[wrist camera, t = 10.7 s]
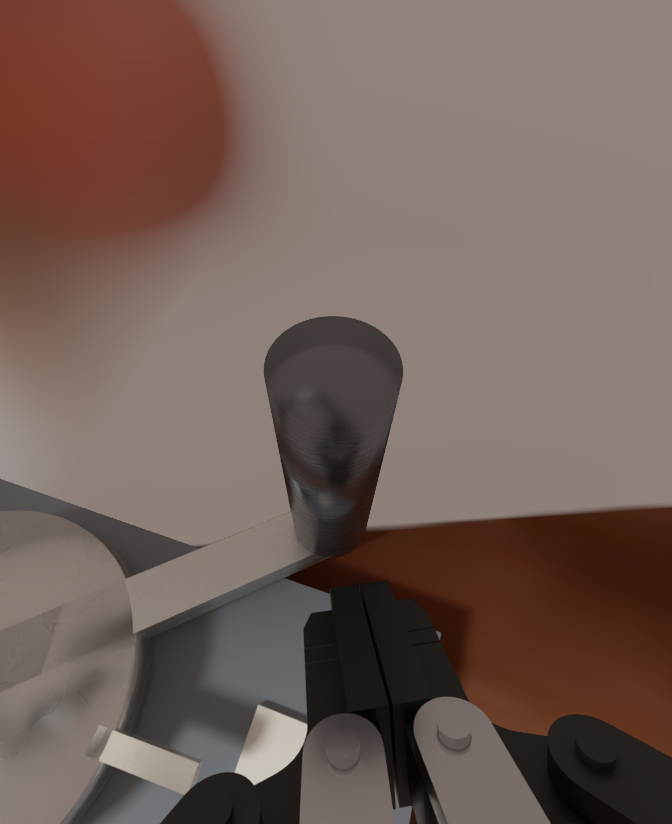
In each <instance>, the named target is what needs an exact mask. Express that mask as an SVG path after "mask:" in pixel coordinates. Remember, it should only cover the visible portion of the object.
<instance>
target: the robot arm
mask: <svg viewBox="0 0 672 824" xmlns="http://www.w3.org/2000/svg"><path fill="white" fill-rule="evenodd" d="M330 601H331V610H328V611H321V612H314V613H311V614H310V616H309V618H308V620H307V622H306V624H305V627H304V629H303V634H304V657H305V680H306V703H307V733H306V738H305V741H304V743H303V745H302V747H301V749H300V751H299V753H298V754H297V755H296V757H295V758H294V759H293V760H292V761H291V762H290V763H289V764H288V765H287V766H286V767H285V768H283V769H282V770H281V771H279V772H277V773H276V774H274V775H272V776H270V777H268V778H267V779H265V780H263V781H261V782H259V783H257V784H255V785H253V783H252V782H251V781H250V780H249V779H248V778H247V777H245V776H243V775H241V774H238V773H234V772H223V773H218V774H214V775H211V776H209V777H207V778H205V779H203V780H202V781H200V782H198V783H197V784H196V785H194V786H193V787H192V788H191V789H190V790H189V791H188V792H187V793H186V794H185V795H184V796H183V797H182V798H181V799H180V801H179V802H178V803H177V804H176V805H175V806H174V808H173V809H172V810H171V811H170V812H169V813H168V815H167V816H166V817H165V818H164V819H163V820H162V822H161V823H160V824H395V820H394V813H393V809H396V802H395V791H396V795H397V800H398V804H399V808H402V807H408V806H413V809H414V813H415V817H416V821H417V824H672V758H671V757H670V756H668V755H666V754H664V753H662V752H660V751H658V750H657V749H655V748H653V747H651V746H649V745H647V744H645V743H644V742H642V741H640V740H638V739H636V738H634V737H632V736H631V735H629V734H627V733H625V732H623V731H621V730H619V729H617V728H616V727H614V726H612V725H610V724H608V723H606V722H604V721H602V720H600V719H597V718H594V717H591V716H586V715H578V714H573V715H566V716H563V717H560V718H558V719H557V720H556V721H554V722H553V724H552V725H551V726H550V729H549V731H548V736H542V735H536V734H529V733H522V732H516V731H512V730H508V729H505V728H502V727H500V726H497V725H495V724H493V723H492V722H490V720H489V719H488V717H487V716H486V715H485V714H484V713H483V712H482V711H481V710H480V709H479V708H478V707H476V706H475V705H473V704H472V703H470V702H469V700H468V698H467V696H466V694H465V692H464V690H463V688H462V686H461V684H460V682H459V680H458V677H457V675H456V673H455V671H454V669H453V667H452V665H451V663H450V660H449V658H448V656H447V654H446V652H445V650H444V648H443V646H442V644H441V643H440V639H439V637H438V635H437V633H436V631H435V630H434V627H433V624H432V622H431V620H430V618H429V616H428V614H427V612H426V610H424V609H423V608H422V607H421V606H420V605H419V604H417V603H416V602H415V601H414V600H413V599H405V600H398V601H396V600H395V598H394V595H393V592H392V590H391V587H390V585H389V582H388V581H380V582H372V583H365V584H359V588H358V585H352V586H344V587H337V588H330ZM394 786H395V787H394Z"/></svg>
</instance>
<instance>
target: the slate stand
mask: <svg viewBox="0 0 672 824" xmlns="http://www.w3.org/2000/svg"><path fill="white" fill-rule="evenodd" d="M21 510H23V511H34V512H42V513H47V514H51V515H55V516H59V517H61V518H64V519H66V520H69V521H71V522H74V523H76V524H77V525H79V526H80V527H82V528H84V529H85V530H87V531H89V532H90V533H92V534H93V535H95V536H96V537H98V538H99V539H101V540H102V541H104V542H105V543H107V544H108V545H110V546H111V547H112V548H113V549H114V550H115V551H117V552H118V553H119V554H120V555H121V556H122V557H123V558H124V559H125V561H126V562H127V563H128V564H129V566H130V567H131V568H132V570H133V571H134V573H135V575H137V574H139V573H142V572H144V571H146V570H149V569H151V568H154V567H156V566H159V565H161V564H163V563H166V562H168V561H171V560H173V559H176V558H178V557H181V556H183V555H185V554H188V553H190V552H193V551H195V550H198V549H199V548H196V547H194V546H191V545H188V544H185V543H182V542H179V541H176V540H173V539H171V538H168V537H165V536H162V535H159V534H156V533H153V532H151V531H147V530H145V529H142V528H139V527H136V526H133V525H130V524H127V523H125V522H122V521H119V520H116V519H113V518H110V517H108V516H105V515H102V514H99V513H96V512H93V511H90V510H87V509H85V508H81V507H79V506H76V505H73V504H70V503H67V502H64V501H62V500H59V499H56V498H53V497H50V496H47V495H44V494H42V493H39V492H36V491H33V490H30V489H27V488H24V487H21V486H19V485H16V484H13V483H10V482H7V481H4V480H1V479H0V511H21ZM328 610H331V601H330V594H328V593H326V592H323V591H320V590H317V589H314V588H311V587H308V586H305V585H303V584H300V583H297V582H294V581H291V580H288V579H285V578H283V579H280V580H278V581H276V582H274V583H271V584H269V585H267V586H265V587H262V588H260V589H258V590H256V591H254V592H251V593H249V594H247V595H245V596H242V597H240V598H238V599H236V600H233V601H231V602H229V603H227V604H224V605H222V606H220V607H218V608H215V609H213V610H211V611H209V612H207V613H204V614H202V615H200V616H198V617H195V618H193V619H191V620H189V621H186V622H184V623H182V624H180V625H177V626H175V627H173V628H171V629H169V630H166V631H164V632H162V633H160V634H157V635H155V636H153V637H152V640H153V641H152V663H151V669H150V675H149V681H148V687H147V691H146V695H145V698H144V702H143V706H142V709H141V713H140V716H139V718H138V721H137V723H136V726H135V729H134V731H133V734H136V735H138V736H141V737H144V738H146V739H149V740H151V741H154V742H157V743H159V744H162V745H164V746H167V747H170V748H172V749H175V750H177V751H180V752H183V753H185V754H188V755H190V756H193V757H196V758H198V759H201V760H203V763H202V766H201V769H200V772H199V774H198V777H197V780H196V783H195V785H196V784H197V783H198V782H200V781H202V780H203V779H205V778H207V777H209V776H211V775H214V774H218V773H223V772H234V773H238V774H241V775H243V776H245V777H247V778H248V779H249V780H250V781H251V782H252V783H253V785H255V784H257V783H259V782H261V781H263V780H265V779H267V778H268V777H270V776H272V775H274V774H276V773H277V772H279V771H281V770H282V769H283V768H285V767H286V766H287V765H288V764H289V763H290V762H291V761H292V760H293V759H294V758H295V757H296V755H297V754H298V753H299V751H300V749H301V747H302V745H303V743H304V741H305V738H306V733H307V703H306V680H305V657H304V634H303V629H304V627H305V624H306V622H307V620H308V618H309V616H310V614H311V613H314V612H321V611H328ZM436 633H437V635H438V637H439V639H440V637H441V633H440V632H437V631H436ZM394 787H395V786H394ZM183 796H184V795H183V794H181V793H178V792H176V791H173V790H171V789H168V788H166V787H163V786H161V785H158V784H156V783H153V782H151V781H148V780H146V779H143V778H141V777H138V776H136V775H133V774H131V773H128V772H126V771H123V770H121V769H118V768H116V769H115V770H114V772H113V773H112V775H111V777H110V778H109V780H108V781H107V783H106V785H105V786H104V788H103V790H102V791H101V793H100V794H99V795H98V797H97V798H96V799H95V801H94V802H93V803H92V805H91V806H90V807H89V809H88V810H87V811H86V813H85V814H84V815H83V817H82V818H81V819H80V820H79V821H78V822H77V823H76V824H160V823H161V822H162V820H163V819H164V818H165V817H166V816H167V815H168V813H169V812H170V811H171V810H172V809H173V808H174V806H175V805H176V804H177V803H178V802H179V801H180V799H181V798H182V797H183ZM395 802H396V809H393V813H394V820H395V824H409V822H410V816H411V810H412V806H408V807H402V808H399V804H398V800H397V795H396V791H395Z"/></svg>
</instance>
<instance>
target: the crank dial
mask: <svg viewBox="0 0 672 824" xmlns="http://www.w3.org/2000/svg"><path fill="white" fill-rule="evenodd" d="M264 377H265V383H266V387H267V393H268V397H269V403H270V408H271V413H272V418H273V423H274V428H275V433H276V438H277V443H278V448H279V453H280V458H281V463H282V468H283V473H284V478H285V484H286V488H287V493H288V499H289V503H290V508H291V511H290V512H288V513H286V514H283V515H281V516H278V517H276V518H273V519H271V520H268V521H266V522H264V523H261V524H259V525H256V526H254V527H251V528H249V529H246V530H244V531H242V532H239V533H237V534H234V535H232V536H229V537H227V538H224V539H222V540H220V541H217V542H215V543H212V544H210V545H207V546H205V547H203V548H200V549H198V550H195V551H193V552H190V553H188V554H185V555H183V556H181V557H178V558H176V559H173V560H171V561H168V562H166V563H163V564H161V565H159V566H156V567H154V568H151V569H149V570H146V571H144V572H142V573H139V574H137V575H135V573H134V571H133V570H132V568H131V567H130V566H129V564H128V563H127V562H126V561H125V559H124V558H123V557H122V556H121V555H120V554H119V553H118V552H117V551H115V550H114V549H113V548H112V547H111V546H110V545H108V544H107V543H105V542H104V541H102V540H101V539H99V538H98V537H96V536H95V535H93V534H92V533H90V532H89V531H87V530H85V529H84V528H82V527H80V526H79V525H77V524H76V523H74V522H71V521H69V520H66V519H64V518H61V517H59V516H55V515H51V514H47V513H42V512H34V511H23V510H21V511H0V824H76V823H77V822H78V821H79V820H80V819H81V818H82V817H83V815H84V814H85V813H86V811H87V810H88V809H89V807H90V806H91V805H92V803H93V802H94V801H95V799H96V798H97V797H98V795H99V794H100V793H101V791H102V790H103V788H104V786H105V785H106V783H107V781H108V780H109V778H110V777H111V775H112V773H113V772H114V770H115V769H116V768H118V769H121V770H123V771H126V772H128V773H131V774H133V775H136V776H138V777H141V778H143V779H146V780H148V781H151V782H153V783H156V784H158V785H161V786H163V787H166V788H168V789H171V790H173V791H176V792H178V793H181V794H183V795H185V794H186V793H187V792H188V791H189V790H190V789H191V788H192V787H193V786H194V785H195V783H196V780H197V777H198V774H199V772H200V769H201V766H202V763H203V760H201V759H198V758H196V757H193V756H190V755H188V754H185V753H183V752H180V751H177V750H175V749H172V748H170V747H167V746H164V745H162V744H159V743H157V742H154V741H151V740H149V739H146V738H144V737H141V736H138V735H136V734H133V731H134V729H135V726H136V723H137V721H138V718H139V716H140V713H141V709H142V706H143V702H144V698H145V695H146V691H147V687H148V681H149V675H150V669H151V663H152V641H153V640H152V637H153V636H155V635H157V634H160V633H162V632H164V631H166V630H169V629H171V628H173V627H175V626H177V625H180V624H182V623H184V622H186V621H189V620H191V619H193V618H195V617H198V616H200V615H202V614H204V613H207V612H209V611H211V610H213V609H215V608H218V607H220V606H222V605H224V604H227V603H229V602H231V601H233V600H236V599H238V598H240V597H242V596H245V595H247V594H249V593H251V592H254V591H256V590H258V589H260V588H262V587H265V586H267V585H269V584H271V583H274V582H276V581H278V580H280V579H283V578H285V577H287V576H289V575H292V574H294V573H296V572H298V571H300V570H303V569H305V568H307V567H309V566H312V565H314V564H316V563H318V562H321V561H323V560H325V559H327V558H330V557H338V556H341V555H344V554H346V553H348V552H350V551H352V550H353V549H354V548H355V547H356V546H357V545H358V544H359V543H360V541H361V540H362V538H363V536H364V534H365V531H366V527H367V522H368V518H369V514H370V510H371V506H372V502H373V498H374V494H375V490H376V486H377V481H378V477H379V473H380V469H381V465H382V461H383V456H384V453H385V448H386V444H387V440H388V436H389V432H390V428H391V424H392V420H393V415H394V412H395V408H396V404H397V399H398V395H399V391H400V387H401V383H402V377H403V366H402V361H401V357H400V354H399V353H398V350H397V348H396V347H395V345H394V344H393V343H392V342H391V340H390V339H389V338H388V337H387V336H386V335H385V334H383V333H382V332H381V331H379V330H378V329H376V328H375V327H373V326H371V325H369V324H367V323H365V322H362V321H359V320H356V319H352V318H347V317H337V316H328V317H319V318H314V319H309V320H306V321H303V322H301V323H298V324H296V325H294V326H292V327H291V328H289V329H288V330H286V331H285V332H284V333H282V334H281V335H280V336H279V337H278V338H277V339H276V340H275V342H274V343H273V344H272V346H271V347H270V349H269V351H268V353H267V356H266V359H265V363H264Z"/></svg>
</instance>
